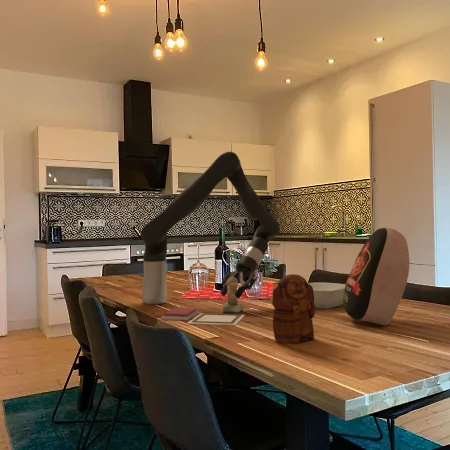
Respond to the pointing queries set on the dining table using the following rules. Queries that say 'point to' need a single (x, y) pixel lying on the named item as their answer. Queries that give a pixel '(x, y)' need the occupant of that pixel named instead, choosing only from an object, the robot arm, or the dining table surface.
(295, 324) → the wooden figurine
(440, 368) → the dining table surface
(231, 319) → the print sheet
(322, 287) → the square bowl
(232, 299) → the stamp
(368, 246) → the packaged food
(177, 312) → the ink pad
